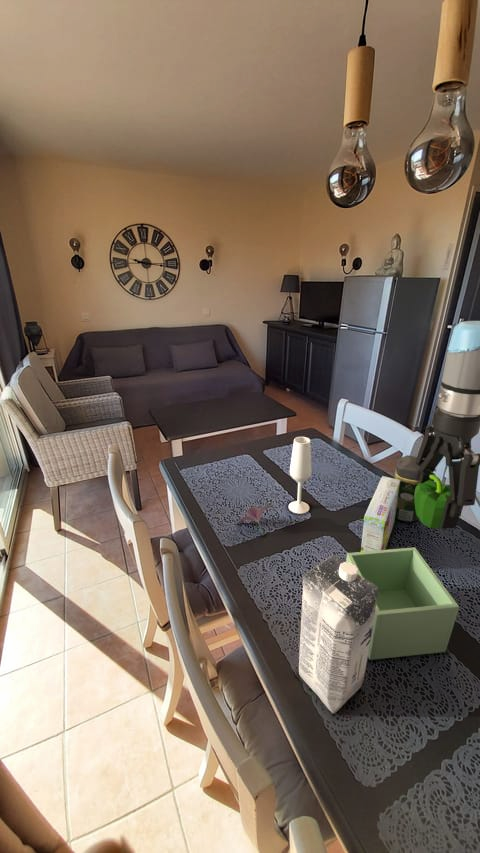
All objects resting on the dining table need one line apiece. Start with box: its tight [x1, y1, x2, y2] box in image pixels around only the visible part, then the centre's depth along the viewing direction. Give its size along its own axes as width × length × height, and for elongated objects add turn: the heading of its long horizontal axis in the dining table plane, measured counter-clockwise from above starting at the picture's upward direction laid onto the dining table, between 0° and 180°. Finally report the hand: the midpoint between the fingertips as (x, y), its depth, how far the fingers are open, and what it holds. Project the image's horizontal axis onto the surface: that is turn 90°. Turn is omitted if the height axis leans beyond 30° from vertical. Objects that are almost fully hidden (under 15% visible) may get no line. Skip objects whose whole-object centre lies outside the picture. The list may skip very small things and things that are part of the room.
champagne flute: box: [288, 436, 313, 515], centre depth 111 cm, size 7×7×24 cm
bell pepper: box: [414, 474, 458, 530], centre depth 73 cm, size 8×8×10 cm
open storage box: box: [345, 546, 460, 661], centre depth 76 cm, size 16×16×13 cm
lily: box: [236, 503, 274, 536], centre depth 106 cm, size 12×12×10 cm
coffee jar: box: [394, 454, 421, 523], centre depth 108 cm, size 10×8×19 cm
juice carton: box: [298, 554, 378, 715], centre depth 62 cm, size 9×10×27 cm
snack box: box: [360, 475, 400, 552], centre depth 98 cm, size 21×6×15 cm, turn 149°
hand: (434, 512), depth 74 cm, fingers closed on bell pepper, 8 cm apart
